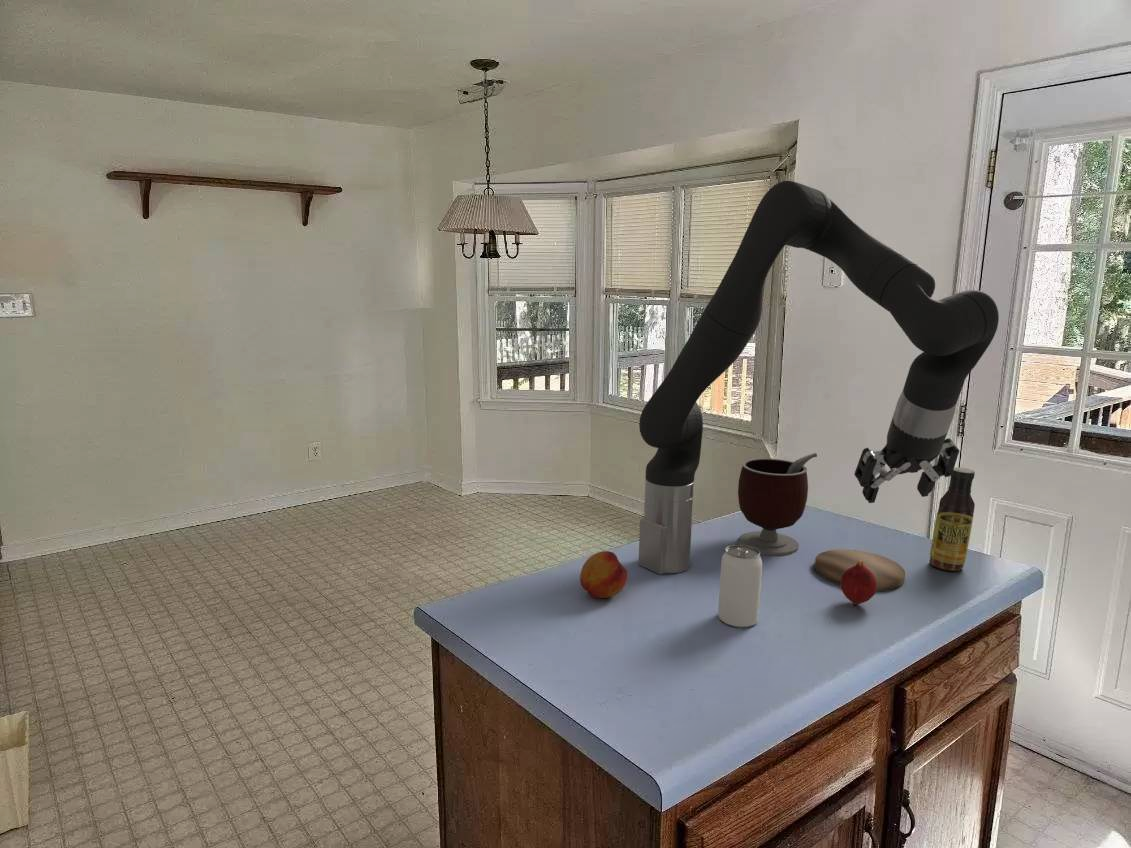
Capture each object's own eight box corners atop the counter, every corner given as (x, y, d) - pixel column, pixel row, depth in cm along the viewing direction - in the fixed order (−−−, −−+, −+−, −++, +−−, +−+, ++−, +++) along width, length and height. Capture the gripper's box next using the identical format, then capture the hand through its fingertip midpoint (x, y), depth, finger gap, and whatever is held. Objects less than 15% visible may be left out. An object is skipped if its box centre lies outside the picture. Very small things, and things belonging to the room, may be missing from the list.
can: (759, 614, 121) (764, 546, 119) (756, 631, 115) (761, 561, 113) (720, 607, 124) (724, 541, 121) (715, 624, 118) (719, 555, 115)
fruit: (622, 608, 123) (624, 564, 121) (576, 603, 125) (576, 559, 123) (628, 589, 130) (630, 547, 129) (584, 584, 132) (585, 542, 130)
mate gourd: (743, 556, 146) (750, 461, 142) (727, 532, 159) (733, 444, 155) (820, 557, 146) (829, 461, 142) (797, 533, 160) (805, 445, 155)
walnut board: (876, 598, 128) (877, 590, 128) (798, 569, 140) (798, 561, 140) (920, 576, 138) (921, 568, 137) (843, 550, 150) (843, 543, 150)
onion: (879, 612, 123) (884, 568, 121) (845, 611, 123) (850, 567, 121) (866, 597, 128) (871, 555, 127) (833, 596, 128) (838, 554, 127)
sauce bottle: (929, 569, 141) (942, 471, 137) (927, 558, 146) (939, 463, 142) (967, 575, 138) (982, 475, 134) (963, 563, 144) (977, 467, 140)
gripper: (957, 397, 107) (928, 474, 118) (862, 408, 107) (842, 484, 117) (983, 430, 101) (950, 508, 112) (884, 442, 101) (860, 519, 112)
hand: (895, 496), depth 115 cm, fingers open, 8 cm apart
